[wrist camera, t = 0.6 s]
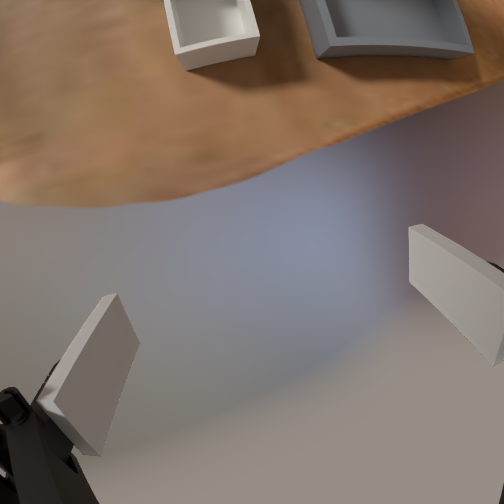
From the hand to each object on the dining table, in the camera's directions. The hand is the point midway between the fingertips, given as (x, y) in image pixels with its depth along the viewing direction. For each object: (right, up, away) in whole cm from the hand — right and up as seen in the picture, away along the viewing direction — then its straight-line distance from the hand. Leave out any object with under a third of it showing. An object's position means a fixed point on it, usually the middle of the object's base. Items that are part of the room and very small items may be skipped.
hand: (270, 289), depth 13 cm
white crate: (-6, +28, +15) cm, 32 cm away
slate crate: (+15, +34, +14) cm, 40 cm away
